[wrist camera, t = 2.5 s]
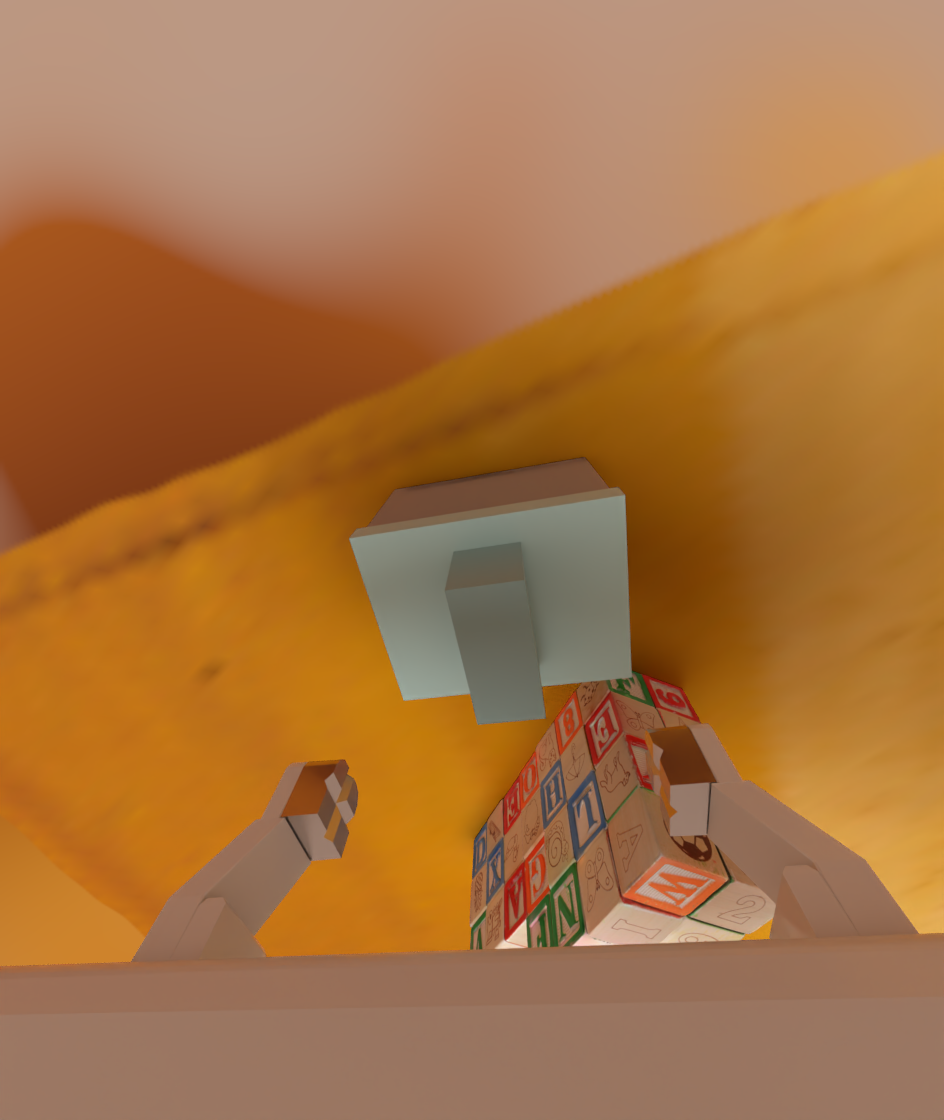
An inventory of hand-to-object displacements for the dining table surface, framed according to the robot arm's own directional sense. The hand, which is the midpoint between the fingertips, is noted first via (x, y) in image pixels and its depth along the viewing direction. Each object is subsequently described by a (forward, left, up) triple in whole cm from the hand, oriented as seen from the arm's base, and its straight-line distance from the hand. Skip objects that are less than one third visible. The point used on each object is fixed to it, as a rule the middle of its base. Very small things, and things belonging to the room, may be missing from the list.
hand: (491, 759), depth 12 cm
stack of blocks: (-2, +19, -14) cm, 24 cm away
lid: (0, 0, -9) cm, 9 cm away
